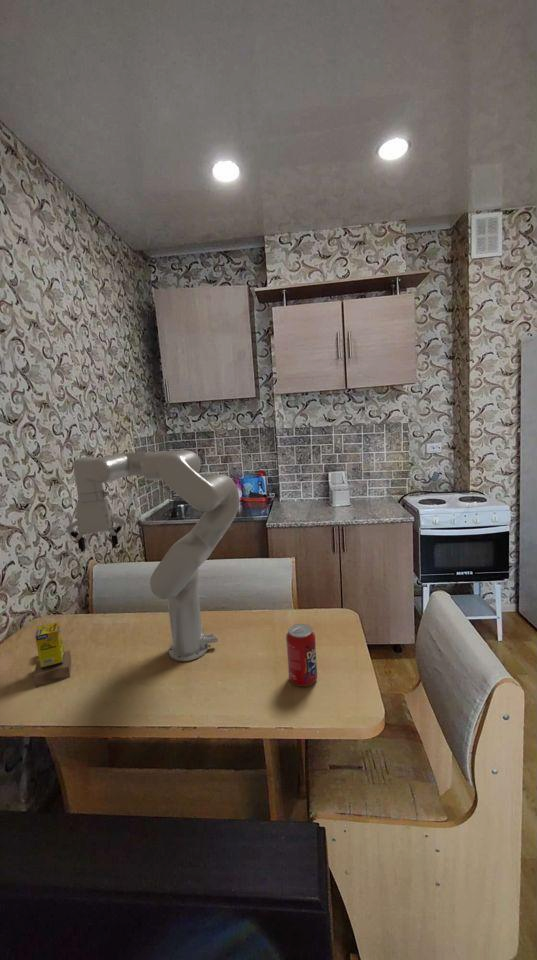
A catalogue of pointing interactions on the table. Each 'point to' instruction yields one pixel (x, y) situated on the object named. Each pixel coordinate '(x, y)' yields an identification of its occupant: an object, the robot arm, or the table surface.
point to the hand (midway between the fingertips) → (99, 548)
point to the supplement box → (49, 645)
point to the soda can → (301, 655)
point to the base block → (53, 671)
